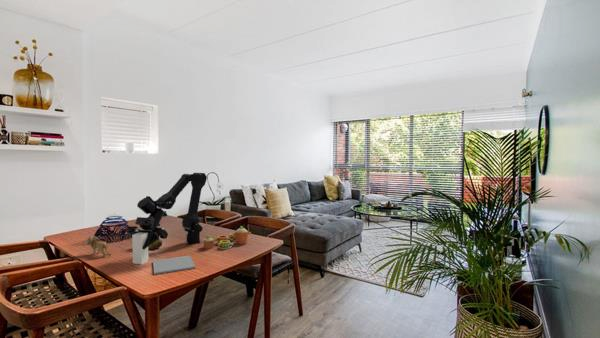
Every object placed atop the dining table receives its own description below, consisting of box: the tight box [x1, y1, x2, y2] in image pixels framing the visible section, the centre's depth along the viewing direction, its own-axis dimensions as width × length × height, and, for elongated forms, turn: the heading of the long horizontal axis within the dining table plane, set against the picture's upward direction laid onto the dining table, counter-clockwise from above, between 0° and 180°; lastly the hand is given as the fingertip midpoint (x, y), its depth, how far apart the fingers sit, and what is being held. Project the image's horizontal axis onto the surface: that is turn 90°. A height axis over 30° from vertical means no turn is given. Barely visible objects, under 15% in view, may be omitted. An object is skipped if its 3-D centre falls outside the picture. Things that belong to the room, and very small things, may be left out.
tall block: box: [131, 232, 149, 265], centre depth 137 cm, size 4×4×13 cm
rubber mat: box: [152, 255, 196, 276], centre depth 133 cm, size 16×16×1 cm
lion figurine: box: [84, 235, 112, 258], centre depth 146 cm, size 15×5×9 cm, turn 71°
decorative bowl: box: [93, 212, 132, 244], centre depth 176 cm, size 20×20×14 cm
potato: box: [148, 237, 163, 250], centre depth 158 cm, size 8×13×8 cm, turn 56°
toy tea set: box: [202, 226, 252, 250], centre depth 165 cm, size 26×16×10 cm, turn 144°
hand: (138, 248), depth 135 cm, fingers closed on tall block, 4 cm apart
